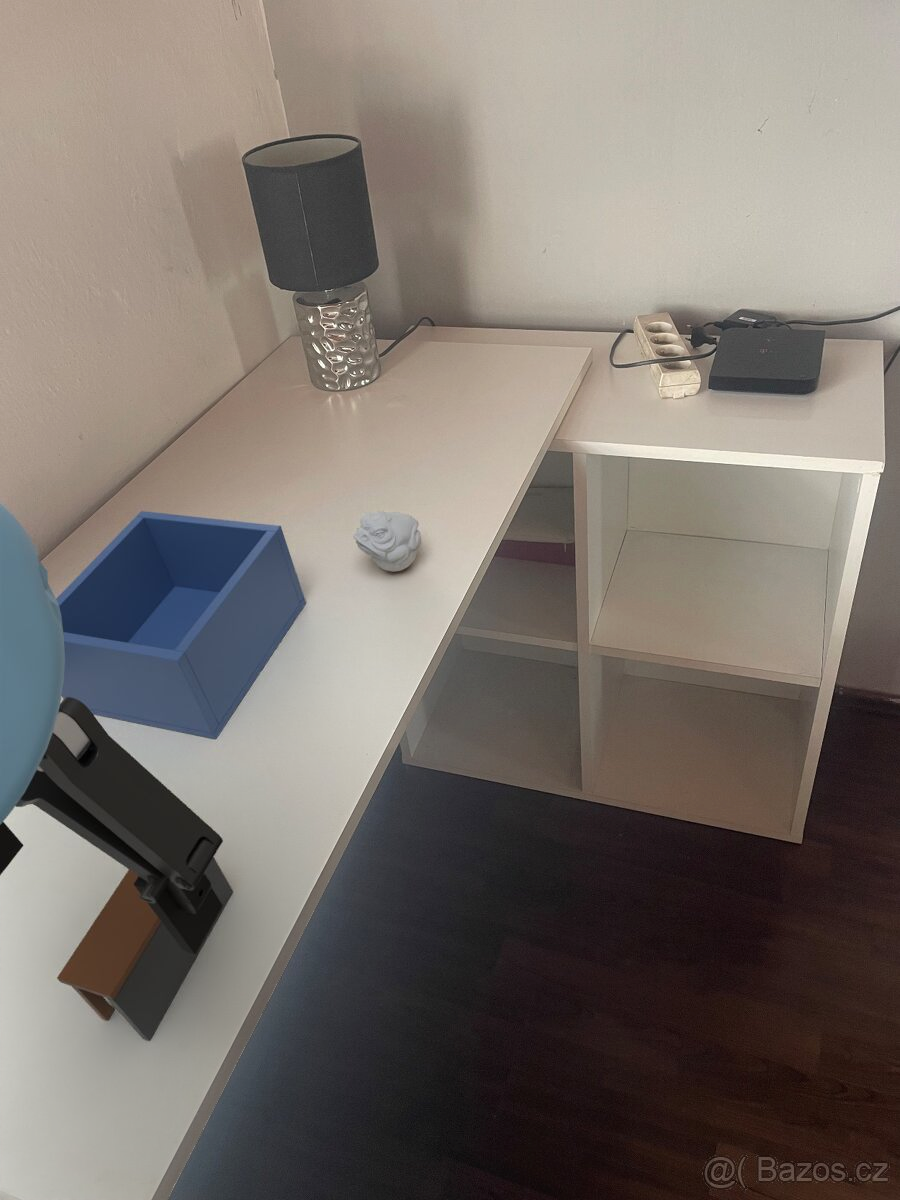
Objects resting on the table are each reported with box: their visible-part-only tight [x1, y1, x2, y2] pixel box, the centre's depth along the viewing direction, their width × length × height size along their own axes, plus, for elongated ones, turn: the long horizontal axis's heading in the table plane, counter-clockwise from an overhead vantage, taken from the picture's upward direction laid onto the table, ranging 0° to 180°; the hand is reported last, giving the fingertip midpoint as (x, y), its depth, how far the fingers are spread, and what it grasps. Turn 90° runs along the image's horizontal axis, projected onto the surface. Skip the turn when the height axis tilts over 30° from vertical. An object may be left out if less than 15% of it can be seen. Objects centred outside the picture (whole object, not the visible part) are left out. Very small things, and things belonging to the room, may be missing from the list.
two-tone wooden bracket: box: [56, 856, 234, 1042], centre depth 58 cm, size 4×11×7 cm, turn 160°
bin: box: [56, 510, 307, 740], centre depth 81 cm, size 18×16×10 cm
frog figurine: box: [352, 510, 422, 572], centre depth 88 cm, size 6×7×7 cm
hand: (98, 894), depth 47 cm, fingers open, 13 cm apart
